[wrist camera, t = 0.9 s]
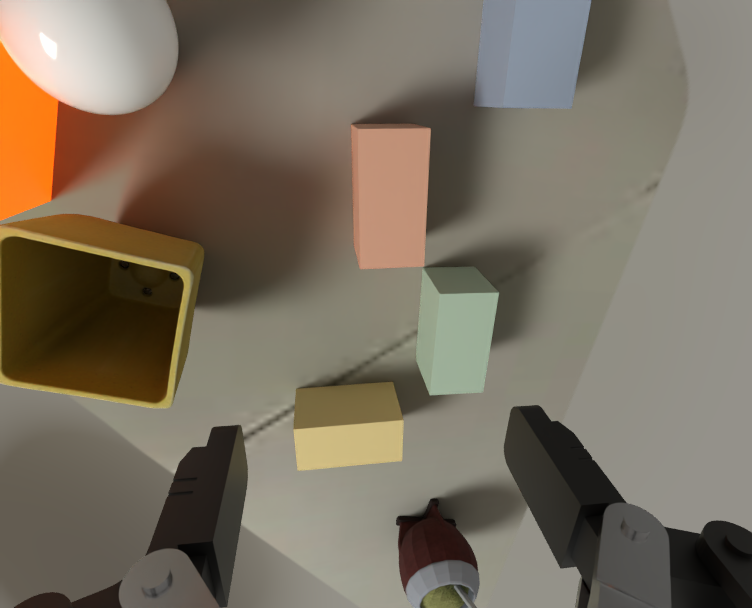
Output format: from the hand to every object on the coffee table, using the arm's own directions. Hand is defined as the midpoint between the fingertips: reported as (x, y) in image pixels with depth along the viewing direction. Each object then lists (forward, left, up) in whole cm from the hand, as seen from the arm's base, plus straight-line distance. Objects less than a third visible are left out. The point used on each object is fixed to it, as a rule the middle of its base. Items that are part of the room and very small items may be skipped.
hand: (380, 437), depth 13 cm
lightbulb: (-12, -10, -20) cm, 25 cm away
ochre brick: (+14, 0, -20) cm, 25 cm away
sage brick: (+6, +8, -20) cm, 23 cm away
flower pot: (+1, -13, -20) cm, 24 cm away
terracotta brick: (-4, +3, -20) cm, 21 cm away
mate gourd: (+29, +8, -20) cm, 36 cm away
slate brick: (-13, +11, -20) cm, 26 cm away
